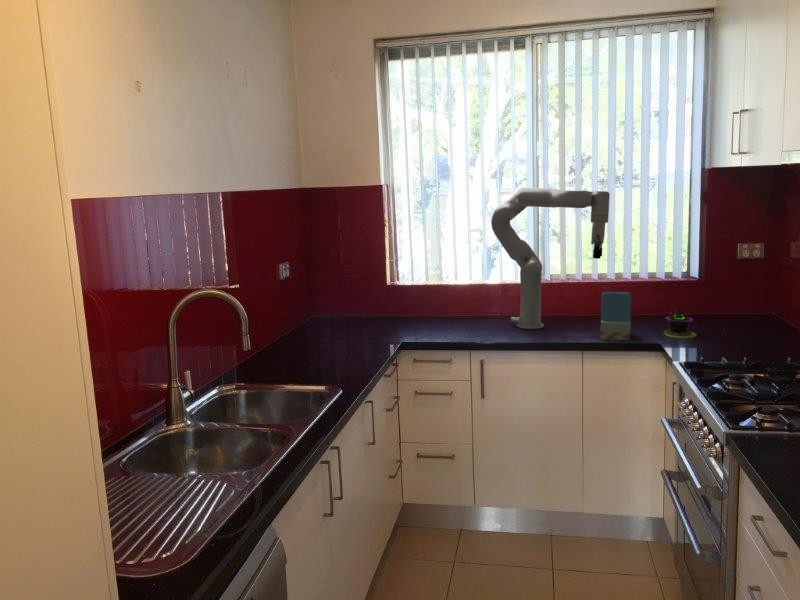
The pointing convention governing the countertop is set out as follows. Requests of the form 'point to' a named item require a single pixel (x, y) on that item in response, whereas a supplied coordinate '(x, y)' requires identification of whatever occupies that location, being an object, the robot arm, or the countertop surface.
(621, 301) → the data package
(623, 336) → the tower bottom
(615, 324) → the pale grey flat block
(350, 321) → the countertop surface
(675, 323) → the toy cauldron
